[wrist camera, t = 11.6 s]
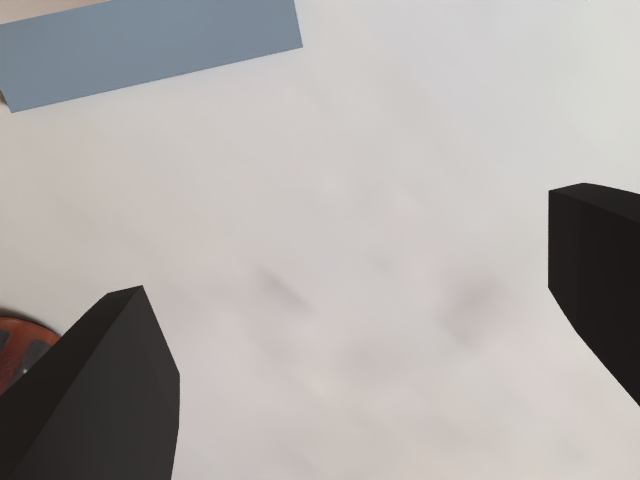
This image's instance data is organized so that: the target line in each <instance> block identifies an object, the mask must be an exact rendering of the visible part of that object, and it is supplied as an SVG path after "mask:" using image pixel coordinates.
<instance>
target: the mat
mask: <svg viewBox="0 0 640 480" xmlns="http://www.w3.org/2000/svg"><path fill="white" fill-rule="evenodd" d="M301 47H303V45H302V40H301V35H300V30H299V25H298V20H297V15H296V10H295V5H294V0H111V1H106V2H102V3H97V4H93V5H88V6H83V7H79V8H74V9H69V10H65V11H60V12H56V13H51V14H46V15H42V16H37V17H32V18H28V19H23V20H19V21H14V22H9V23H5V24H0V90H1V92H2V94H3V96H4V98H5V100H6V103H7V105H8V107H9V109H10V111H11V113H14V112H19V111H23V110H28V109H32V108H36V107H41V106H45V105H50V104H54V103H59V102H63V101H67V100H72V99H76V98H81V97H85V96H89V95H94V94H98V93H103V92H107V91H112V90H116V89H120V88H125V87H129V86H134V85H138V84H142V83H147V82H151V81H156V80H160V79H165V78H169V77H173V76H178V75H182V74H187V73H191V72H195V71H200V70H204V69H209V68H213V67H217V66H222V65H226V64H231V63H235V62H240V61H244V60H248V59H253V58H257V57H262V56H266V55H270V54H275V53H279V52H284V51H288V50H293V49H297V48H301Z"/></svg>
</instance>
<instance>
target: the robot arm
mask: <svg viewBox="0 0 640 480" xmlns="http://www.w3.org/2000/svg"><path fill="white" fill-rule="evenodd" d="M548 288H549V290H550V291H551V293H552V295H553V296H554V298H555V300H556V301H557V303H558V304H559V306H560V308H561V309H562V311H563V313H564V314H565V316H566V317H567V319H568V320H569V322H570V323H571V325H572V326H573V328H574V329H575V331H576V332H577V333H578V335H579V336H580V337H581V338H582V340H583V341H584V342H585V343H586V344H587V346H588V347H589V348H590V349H591V350H592V351H593V353H594V354H595V355H596V356H597V357H598V359H599V360H600V361H601V362H602V363H603V364H604V366H605V367H606V368H607V369H608V370H609V371H610V373H611V374H612V375H613V376H614V377H615V378H616V380H617V381H618V382H619V383H620V384H621V385H622V386H623V388H624V389H625V390H626V391H627V392H628V393H629V395H630V396H631V397H632V398H633V399H634V400H635V402H636V403H637V404H638V405H639V406H640V194H637V193H633V192H629V191H624V190H620V189H616V188H611V187H606V186H601V185H596V184H589V183H579V184H575V185H571V186H567V187H562V188H558V189H554V190H549V210H548ZM179 407H180V374H179V371H178V369H177V367H176V364H175V362H174V359H173V357H172V355H171V352H170V350H169V347H168V345H167V343H166V340H165V338H164V335H163V333H162V331H161V328H160V326H159V324H158V321H157V319H156V316H155V314H154V312H153V309H152V307H151V304H150V302H149V300H148V297H147V295H146V292H145V290H144V288H143V285H141V286H136V287H132V288H128V289H124V290H119V291H115V292H111V293H107V294H106V295H105V296H104V297H102V298H101V299H100V300H99V301H98V302H97V303H95V304H94V305H93V306H92V307H91V308H90V309H89V310H88V311H87V312H86V313H85V314H84V315H83V316H82V317H81V318H80V319H79V320H78V321H77V322H76V323H75V324H74V325H73V326H72V327H71V328H70V329H69V330H68V331H67V332H66V333H65V334H64V335H63V336H62V337H61V338H60V339H59V340H58V341H57V342H56V343H55V344H54V345H53V346H52V347H51V348H50V349H49V350H48V351H47V352H46V353H45V354H44V355H43V356H42V357H41V358H40V359H39V360H38V361H37V362H36V363H35V364H34V365H33V366H32V367H31V368H30V369H29V370H28V371H27V372H26V373H25V374H24V375H23V376H21V377H20V378H19V379H18V380H17V381H16V382H15V383H14V384H13V385H12V386H11V387H10V388H9V389H7V390H6V391H5V392H4V393H3V394H2V395H1V396H0V480H171V476H172V470H173V463H174V456H175V450H176V443H177V436H178V429H179Z"/></svg>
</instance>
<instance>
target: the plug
mask: <svg viewBox="0 0 640 480" xmlns="http://www.w3.org/2000/svg"><path fill="white" fill-rule="evenodd" d="M106 1H111V0H0V24H5V23H9V22H14V21H19V20H23V19H28V18H32V17H37V16H42V15H46V14H51V13H56V12H60V11H65V10H69V9H74V8H79V7H83V6H88V5H93V4H97V3H102V2H106Z"/></svg>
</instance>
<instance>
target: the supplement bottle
mask: <svg viewBox="0 0 640 480" xmlns="http://www.w3.org/2000/svg"><path fill="white" fill-rule="evenodd" d="M60 338H61V337H60V336H59V335H57V334H56V333H54V332H52V331H50V330H48V329H46V328H44V327H42V326H39V325H36V324H34V323H31V322H27V321H24V320H20V319H15V318H6V317H0V396H1V395H2V394H3V393H4V392H5V391H6V390H7V389H9V388H10V387H11V386H12V385H13V384H14V383H15V382H16V381H17V380H18V379H19V378H20V377H21V376H23V375H24V374H25V373H26V372H27V371H28V370H29V369H30V368H31V367H32V366H33V365H34V364H35V363H36V362H37V361H38V360H39V359H40V358H41V357H42V356H43V355H44V354H45V353H46V352H47V351H48V350H49V349H50V348H51V347H52V346H53V345H54V344H55V343H56V342H57V341H58V340H59V339H60Z"/></svg>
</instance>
